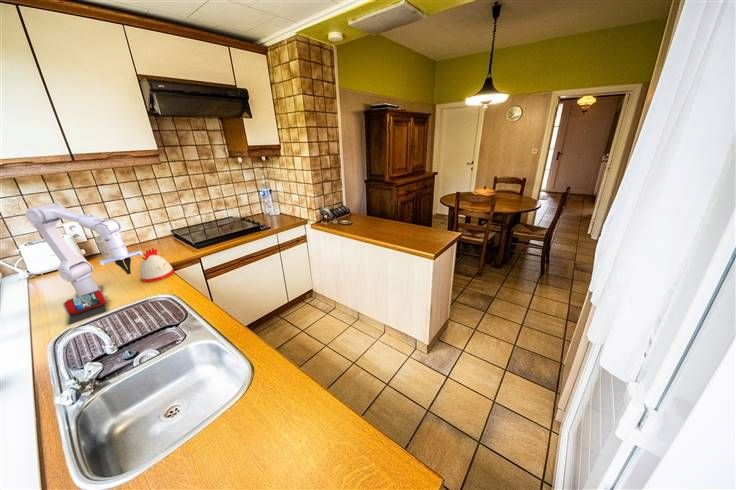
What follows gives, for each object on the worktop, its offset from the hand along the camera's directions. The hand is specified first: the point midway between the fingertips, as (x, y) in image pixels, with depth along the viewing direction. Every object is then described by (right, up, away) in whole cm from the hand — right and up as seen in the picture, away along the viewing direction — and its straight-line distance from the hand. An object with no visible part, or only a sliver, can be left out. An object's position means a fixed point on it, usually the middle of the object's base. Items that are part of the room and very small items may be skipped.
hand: (129, 273), depth 124 cm
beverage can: (-7, -10, -5) cm, 13 cm away
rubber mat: (-11, -15, -8) cm, 20 cm away
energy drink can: (-52, +4, +44) cm, 68 cm away
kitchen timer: (-2, -3, +20) cm, 20 cm away
